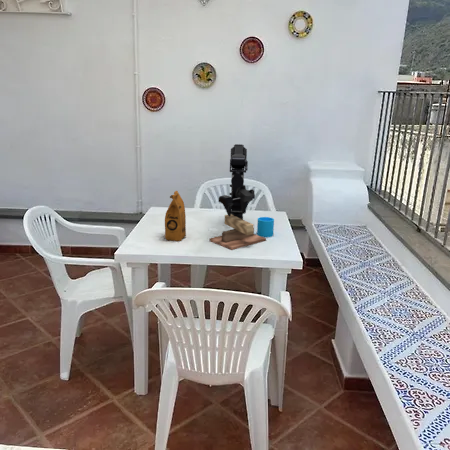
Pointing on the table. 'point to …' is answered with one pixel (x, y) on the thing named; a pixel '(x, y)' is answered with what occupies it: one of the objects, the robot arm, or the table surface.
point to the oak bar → (239, 224)
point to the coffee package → (175, 219)
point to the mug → (265, 227)
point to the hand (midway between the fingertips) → (236, 214)
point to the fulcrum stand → (236, 239)
